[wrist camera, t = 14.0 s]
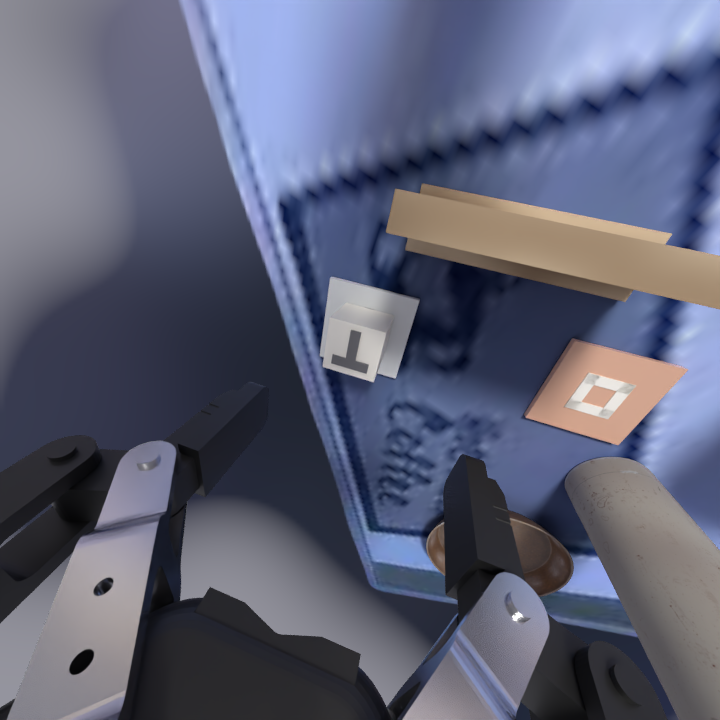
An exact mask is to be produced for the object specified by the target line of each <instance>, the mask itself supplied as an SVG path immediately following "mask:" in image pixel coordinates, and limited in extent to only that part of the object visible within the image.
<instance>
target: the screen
mask: <svg viewBox="0 0 720 720" xmlns="http://www.w3.org/2000/svg"><path fill="white" fill-rule="evenodd" d="M386 233H390V234H394V235H398V236H403V237H407V238H408V240H407V244H406V248H405V250H407V251H411V252H415V253H420V254H424V255H428V256H432V257H437V258H441V259H445V260H449V261H454V262H458V263H462V264H466V265H471V266H475V267H479V268H483V269H488V270H492V271H496V272H500V273H505V274H509V275H513V276H517V277H522V278H526V279H530V280H534V281H538V282H543V283H547V284H551V285H555V286H560V287H564V288H568V289H572V290H577V291H581V292H585V293H589V294H594V295H598V296H602V297H606V298H611V299H615V300H619V301H623V302H625V301H626V300H627V299H628V297H629V296H630V294H631V293H632V291H633V290H638V291H642V292H647V293H651V294H655V295H660V296H664V297H668V298H673V299H677V300H681V301H686V302H690V303H695V304H699V305H703V306H708V307H712V308H716V309H720V256H718V255H713V254H708V253H704V252H699V251H694V250H689V249H684V248H679V247H675V246H670V245H665V244H666V242H667V241H668V239H669V238H670V236H671V235H672V234H670V233H665V232H660V231H655V230H650V229H645V228H640V227H635V226H631V225H626V224H621V223H616V222H611V221H606V220H601V219H596V218H591V217H586V216H581V215H576V214H571V213H566V212H561V211H556V210H551V209H547V208H542V207H537V206H532V205H527V204H522V203H517V202H512V201H507V200H502V199H497V198H492V197H487V196H482V195H477V194H472V193H467V192H462V191H458V190H453V189H448V188H443V187H438V186H433V185H428V184H423V183H422V186H421V190H420V194H419V193H414V192H410V191H405V190H400V189H395V192H394V197H393V202H392V206H391V211H390V215H389V220H388V225H387V229H386Z"/></svg>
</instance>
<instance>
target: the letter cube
mask: <svg viewBox="0 0 720 720" xmlns="http://www.w3.org/2000/svg"><path fill="white" fill-rule="evenodd" d="M393 319H394V315H391V314H387V313H384V312H380V311H376V310H372V309H369V308H365V307H361V306H357V305H354V304H350V303H345V304H344V305H343V306H342V307H341V308H340V309H339V310H337V311H336V312H335V313H334V314H333V315H332V316H331V317H330V318H329V325H328V332H327V339H326V346H325V353H324V360H323V367H324V368H328V369H331V370H334V371H338V372H341V373H344V374H348V375H351V376H354V377H357V378H361V379H364V380H367V381H371V382H374V380H375V378H376V375H377V372H378V370H379V367H380V365H381V362H382V360H383V356H384V352H385V349H386V345H387V341H388V337H389V334H390V330H391V326H392V322H393Z"/></svg>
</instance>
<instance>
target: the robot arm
mask: <svg viewBox="0 0 720 720" xmlns="http://www.w3.org/2000/svg"><path fill="white" fill-rule="evenodd" d="M268 395H269V390H268V388H267V387H264V386H262V385H259V384H256V383H253V382H248V383H247V384H245V385H244V386H243V387H242V388H241V389H240V390H238V391H236V390H231V391H228V392H226V393H224V394H221V395H219V396H218V397H217V398H216V399H214V400H213V401H212V402H211V403H210V404H209V405H207V406H206V407H205V408H203V409H202V410H201V412H198V413H197V414H196V415H195V416H193V418H191V419H190V420H189V421H187V422H186V423H185V424H184V425H182V426H181V427H180V428H179V429H177V430H176V431H175V432H174V433H172V434H171V435H170V436H169V437H168V438H166V439H165V440H164V441H152V442H148V443H144V444H141V445H139V446H137V447H135V448H133V449H132V450H130V451H124V450H106V449H99V448H98V446H97V443H96V441H95V440H94V439H93V438H91V437H89V436H83V435H76V436H69V437H64V438H61V439H58V440H55V441H52V442H50V443H48V444H46V445H44V446H43V447H41V448H40V449H38V450H37V451H34V452H33V453H31V454H30V455H28V456H26V457H25V458H23V459H22V460H20V461H18V462H17V463H15V464H13V465H12V466H10V467H9V468H7V469H5V470H4V471H2V472H1V473H0V545H1V544H2V543H3V542H4V541H5V540H6V539H7V538H8V537H9V536H11V535H12V534H13V533H14V532H16V531H17V530H18V529H20V528H21V527H22V526H23V525H25V524H26V523H27V522H28V521H30V520H31V519H32V518H33V517H35V516H36V515H37V514H38V513H40V512H41V511H42V510H43V509H45V508H46V507H47V506H49V505H50V504H52V507H51V508H50V509H49V510H48V511H46V512H45V513H44V514H42V515H41V516H40V517H39V518H37V519H36V520H35V521H34V522H32V523H31V524H30V525H29V526H27V527H26V528H25V529H24V530H22V531H21V532H20V533H19V534H17V535H16V536H15V537H14V538H12V539H11V540H10V541H9V542H7V543H6V544H5V545H4V546H2V547H1V548H0V623H1V622H2V621H3V620H4V619H5V618H6V617H7V616H8V615H9V614H10V613H11V612H12V611H13V610H14V609H15V608H16V607H17V606H18V605H19V604H20V603H21V602H22V601H23V600H24V599H25V598H26V597H27V596H29V595H30V593H32V592H33V591H34V590H35V588H37V587H38V586H39V585H40V584H41V583H42V582H43V581H44V580H45V579H46V578H47V577H48V576H49V575H50V574H51V573H52V572H53V571H54V570H55V569H56V568H57V567H58V566H59V565H60V564H61V563H62V562H63V561H64V560H65V559H66V558H67V557H68V556H69V555H70V554H71V553H72V552H73V554H72V556H71V559H70V561H69V564H68V566H67V569H66V571H65V574H64V577H63V579H62V582H61V584H60V587H59V590H58V592H57V594H56V597H55V599H54V602H53V604H52V607H51V609H50V612H49V614H48V617H47V619H46V622H45V624H44V627H43V630H42V632H41V635H40V637H39V640H38V642H37V645H36V647H35V650H34V652H33V655H32V657H31V660H30V662H29V665H28V667H27V670H26V672H25V675H24V678H23V680H22V683H21V685H20V688H19V691H18V693H17V695H16V698H15V699H13V700H12V701H10V702H9V703H7V704H6V705H4V706H2V707H1V708H0V720H516V712H517V709H518V706H519V704H520V702H522V703H523V704H524V705H525V706H526V707H528V708H529V711H530V718H531V720H667V718H666V715H665V713H664V710H663V708H662V706H661V704H660V701H659V699H658V697H657V695H656V693H655V691H654V689H653V688H652V686H651V684H650V683H649V681H648V680H647V678H646V677H645V676H644V674H643V673H642V672H641V670H640V669H639V668H638V667H637V666H636V664H635V663H634V662H633V661H632V660H631V659H630V658H629V657H628V656H627V655H626V654H624V653H623V652H622V651H621V650H619V649H618V648H616V647H615V646H613V645H611V644H610V643H607V642H604V641H595V642H593V643H591V644H589V645H588V644H586V643H584V641H582V640H581V639H580V638H578V637H577V636H575V635H574V634H573V633H571V632H570V631H569V630H567V629H566V628H565V627H563V626H562V625H561V624H559V623H558V622H557V621H555V620H554V619H553V618H552V617H551V616H549V615H548V614H547V612H546V610H545V607H544V605H543V603H542V601H541V600H540V598H539V597H538V595H537V594H536V592H535V591H534V590H533V589H532V588H531V587H530V586H529V585H528V584H527V583H526V581H525V578H524V574H523V570H522V566H521V562H520V558H519V554H518V550H517V546H516V542H515V537H514V533H513V529H512V526H511V525H510V523H511V521H510V517H509V513H507V511H508V509H507V504H506V500H505V496H504V494H503V492H502V491H501V489H500V487H499V486H498V484H497V482H496V481H495V480H493V479H490V478H488V477H487V471H486V466H485V463H484V461H482V460H479V459H476V458H473V457H470V456H467V455H464V454H462V455H461V456H460V457H459V459H458V461H457V462H456V464H455V466H454V467H453V469H452V471H451V473H450V474H449V476H448V478H447V480H446V482H445V486H444V492H443V503H444V547H445V591H446V595H447V596H449V597H452V598H454V599H457V600H458V613H457V614H456V615H455V617H454V618H453V620H452V621H451V622H450V624H449V625H448V627H447V628H446V629H445V631H444V632H443V633H442V635H441V636H440V638H439V639H438V640H437V642H436V643H435V645H434V646H433V647H432V649H431V650H430V652H429V653H428V654H427V655H426V657H425V658H424V660H423V661H422V662H421V664H420V665H419V666H418V668H417V669H416V670H415V672H414V673H413V674H412V675H411V676H410V677H409V678H408V680H407V681H406V682H405V683H404V685H403V686H402V687H401V688H400V690H399V691H398V692H397V694H396V695H395V696H394V698H393V699H392V701H391V702H390V703H389V705H388V706H387V707H386V705H385V703H384V701H383V699H382V697H381V695H380V694H379V692H378V690H377V689H376V687H375V685H374V684H373V682H372V681H371V680H370V679H369V677H368V676H367V675H366V674H365V672H364V671H363V670H361V669H360V668H359V667H358V666H359V660H360V654H359V653H357V652H355V651H352V650H350V649H348V648H345V647H343V646H341V645H339V644H336V643H334V642H332V641H330V640H328V639H325V638H323V637H315V636H298V635H281V634H277V633H275V632H274V631H273V630H272V629H271V628H270V627H269V626H268V625H267V624H266V623H265V622H264V621H263V620H262V619H261V618H260V617H259V616H258V615H257V614H256V613H255V612H254V611H253V610H252V609H251V608H250V607H249V606H248V605H247V604H246V603H244V602H242V601H240V600H238V599H235V598H233V597H230V596H229V595H226V594H224V593H222V592H220V591H217V590H215V589H213V588H211V587H210V588H209V590H208V591H207V593H206V595H205V596H204V598H192V599H186V600H182V601H180V594H181V555H182V546H183V536H184V528H185V519H186V510H187V501H188V500H189V499H190V497H191V496H192V495H193V494H194V493H196V494H199V495H201V496H204V497H206V496H207V495H208V493H209V492H210V491H211V490H212V489H213V487H214V486H215V485H216V484H217V483H218V481H219V480H220V479H221V478H222V476H223V475H224V474H225V473H226V472H227V470H228V469H229V468H230V467H231V466H232V464H233V463H234V462H235V461H236V460H237V459H238V457H239V456H240V455H241V454H242V452H243V451H244V450H245V449H246V448H247V446H248V445H249V444H250V443H251V442H252V440H253V439H254V438H255V437H256V436H257V434H258V433H259V432H260V431H261V430H262V428H263V427H264V425H265V423H266V420H267V416H268Z"/></svg>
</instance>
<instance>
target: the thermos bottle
mask: <svg viewBox="0 0 720 720" xmlns="http://www.w3.org/2000/svg"><path fill="white" fill-rule="evenodd" d="M565 489H566V491H567V494H568V496H569V498H570V500H571V502H572V504H573V506H574V508H575V510H576V512H577V514H578V516H579V518H580V520H581V522H582V524H583V526H584V528H585V530H586V532H587V534H588V536H589V538H590V540H591V542H592V544H593V546H594V548H595V550H596V552H597V555H598V557H599V559H600V561H601V563H602V565H603V567H604V569H605V571H606V573H607V575H608V577H609V579H610V581H611V583H612V585H613V587H614V589H615V591H616V593H617V595H618V597H619V599H620V601H621V603H622V605H623V607H624V609H625V611H626V613H627V615H628V617H629V619H630V621H631V623H632V625H633V627H634V629H635V631H636V633H637V635H638V637H639V639H640V642H641V644H642V645H643V648H644V650H645V652H646V654H647V656H648V658H649V660H650V662H651V664H652V666H653V668H654V670H655V672H656V674H657V676H658V678H659V680H660V682H661V684H662V686H663V688H664V690H665V692H666V694H667V696H668V698H669V700H670V702H671V704H672V706H673V708H674V710H675V712H676V714H677V716H678V718H679V720H720V550H719V549H718V548H717V547H716V545H715V544H714V543H713V542H712V541H711V540H710V539H709V537H708V536H707V535H706V534H705V533H704V532H703V531H702V529H701V528H700V527H699V526H698V525H697V524H696V523H695V521H694V520H693V519H692V518H691V517H690V516H689V515H688V513H687V512H686V511H685V510H684V509H683V508H682V507H681V505H680V504H679V503H678V502H677V501H676V500H675V499H674V498H673V496H672V495H671V494H670V493H669V492H668V491H667V490H666V488H665V487H664V486H663V485H662V484H661V483H660V482H659V480H658V479H657V478H656V477H655V476H654V475H653V474H652V472H651V471H650V470H649V469H648V468H646V467H645V466H644V465H642V464H640V463H638V462H636V461H633V460H630V459H626V458H621V457H601V458H596V459H591V460H588V461H585V462H583V463H581V464H579V465H577V466H576V467H574V468H573V469H572V470H571V471H570V472H569V473H568V475H567V477H566V479H565Z"/></svg>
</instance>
